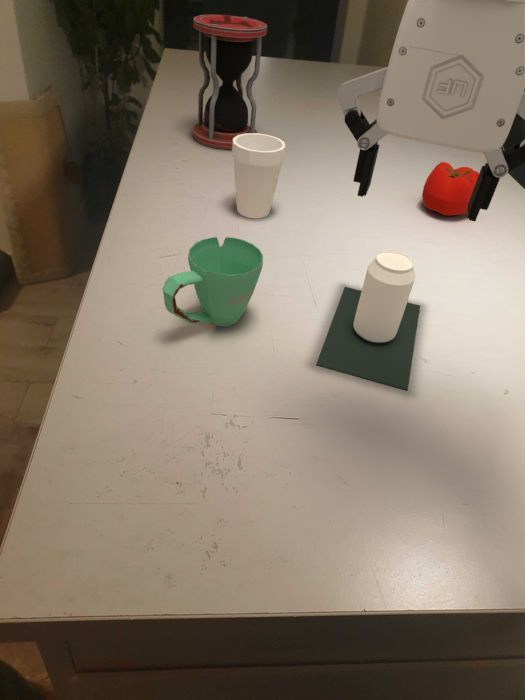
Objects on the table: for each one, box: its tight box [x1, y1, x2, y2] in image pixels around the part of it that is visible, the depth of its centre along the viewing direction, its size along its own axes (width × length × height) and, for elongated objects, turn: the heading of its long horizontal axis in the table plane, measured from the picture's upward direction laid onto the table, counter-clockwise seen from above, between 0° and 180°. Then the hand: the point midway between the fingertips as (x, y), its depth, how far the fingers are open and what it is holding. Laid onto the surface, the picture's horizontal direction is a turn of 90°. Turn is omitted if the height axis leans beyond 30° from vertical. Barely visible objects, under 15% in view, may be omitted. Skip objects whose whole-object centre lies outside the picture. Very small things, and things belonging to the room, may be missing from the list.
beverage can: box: [353, 250, 416, 343], centre depth 71 cm, size 6×6×12 cm
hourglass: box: [192, 13, 268, 150], centre depth 122 cm, size 16×16×25 cm
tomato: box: [421, 161, 480, 217], centre depth 107 cm, size 11×12×9 cm
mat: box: [316, 286, 421, 391], centre depth 75 cm, size 20×12×1 cm, turn 162°
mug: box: [162, 236, 264, 327], centre depth 70 cm, size 15×10×10 cm
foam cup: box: [231, 132, 287, 219], centre depth 97 cm, size 10×9×13 cm
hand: (416, 202), depth 47 cm, fingers open, 9 cm apart
